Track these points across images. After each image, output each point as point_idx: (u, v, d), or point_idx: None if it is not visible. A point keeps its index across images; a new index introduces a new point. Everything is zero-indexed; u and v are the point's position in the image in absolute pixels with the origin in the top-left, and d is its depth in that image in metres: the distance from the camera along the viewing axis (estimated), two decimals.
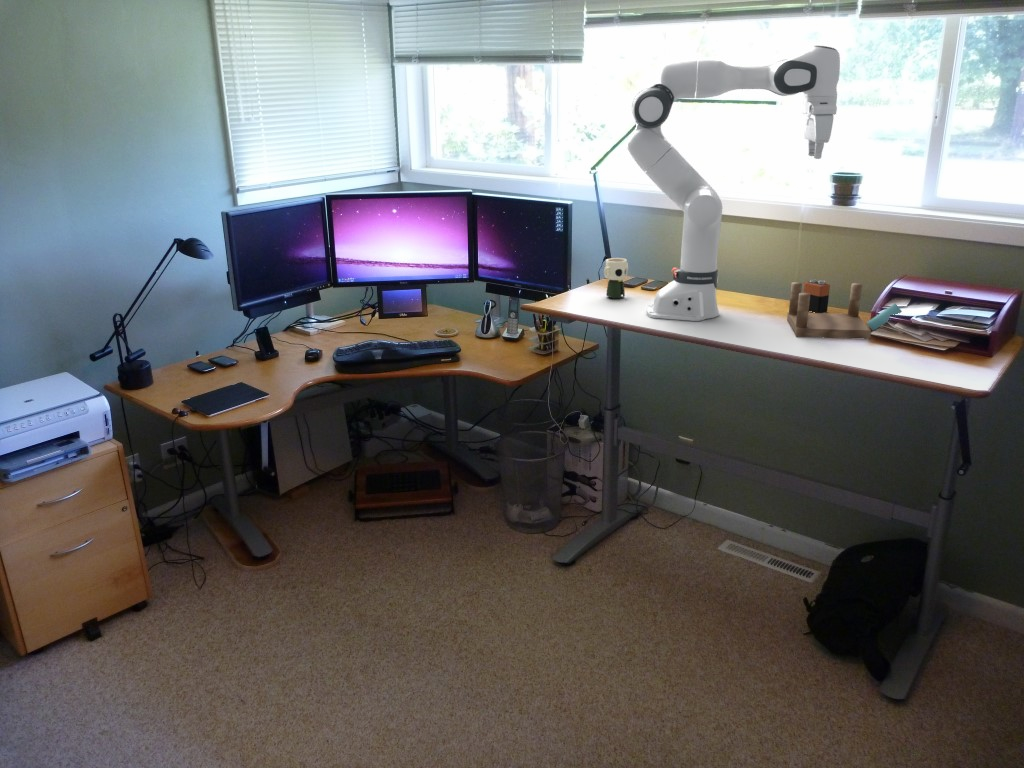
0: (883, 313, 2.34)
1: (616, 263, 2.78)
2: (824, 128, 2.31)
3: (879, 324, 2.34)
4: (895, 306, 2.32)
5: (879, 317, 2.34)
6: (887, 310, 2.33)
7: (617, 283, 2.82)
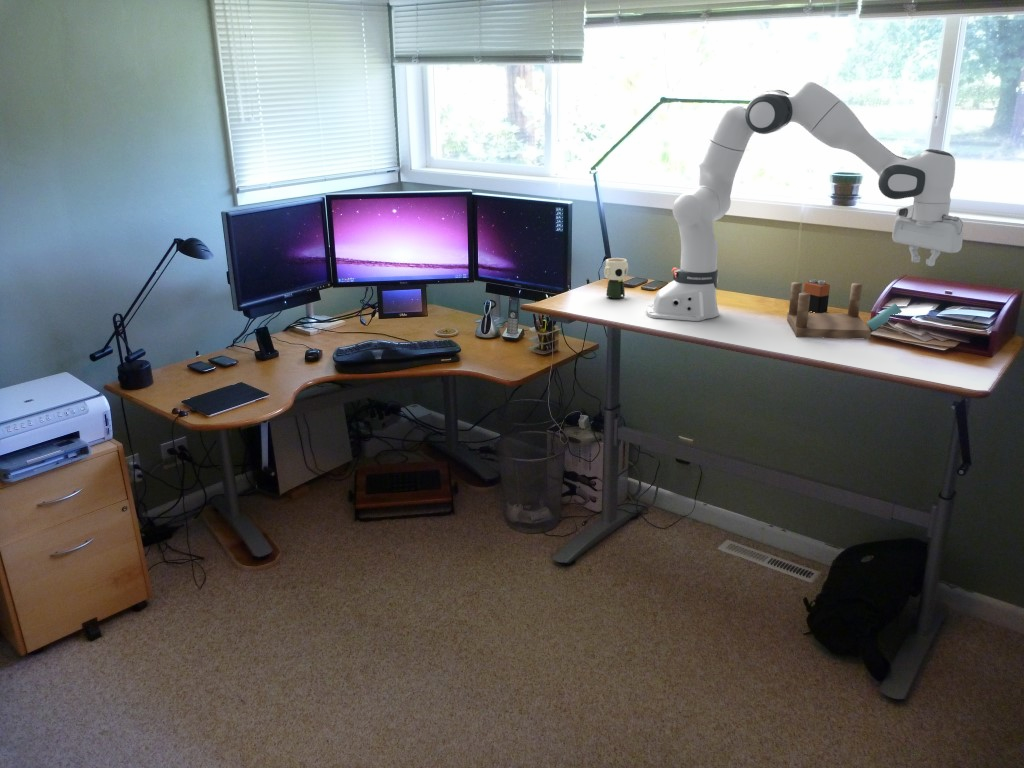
0: (883, 313, 2.34)
1: (616, 263, 2.78)
2: None
3: (879, 324, 2.34)
4: (895, 306, 2.32)
5: (879, 317, 2.34)
6: (887, 310, 2.33)
7: (617, 283, 2.82)
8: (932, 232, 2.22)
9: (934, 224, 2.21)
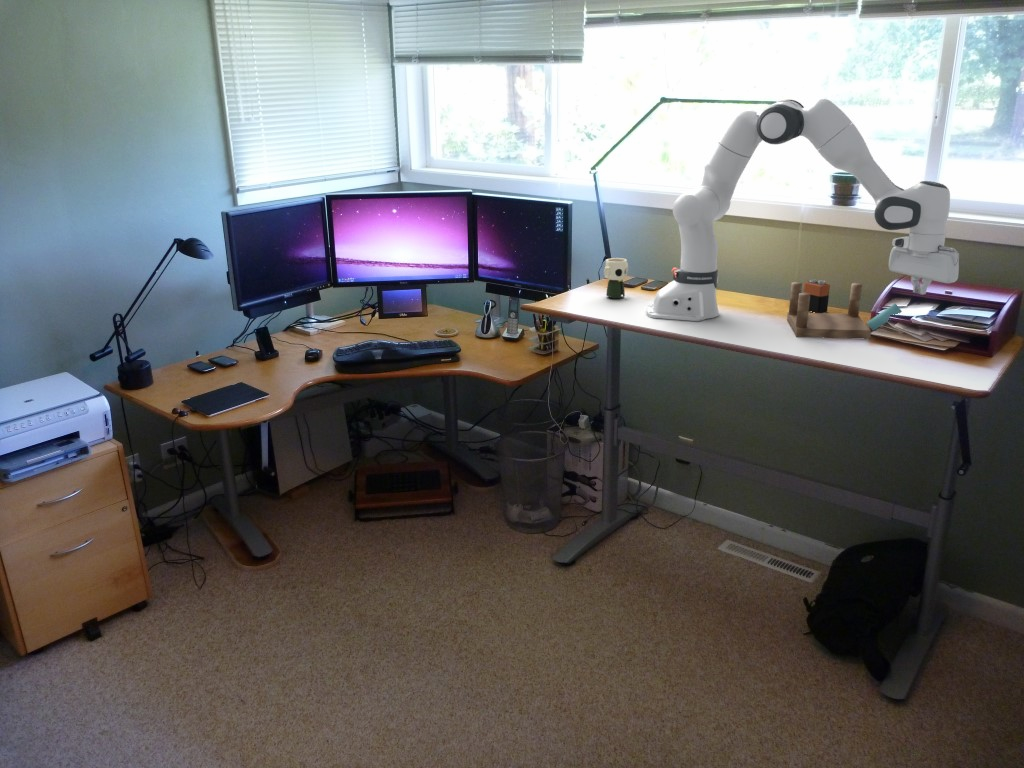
0: (883, 313, 2.34)
1: (616, 263, 2.78)
2: None
3: (879, 324, 2.34)
4: (895, 306, 2.32)
5: (879, 317, 2.34)
6: (887, 310, 2.33)
7: (617, 283, 2.82)
8: (928, 262, 2.25)
9: (930, 255, 2.23)
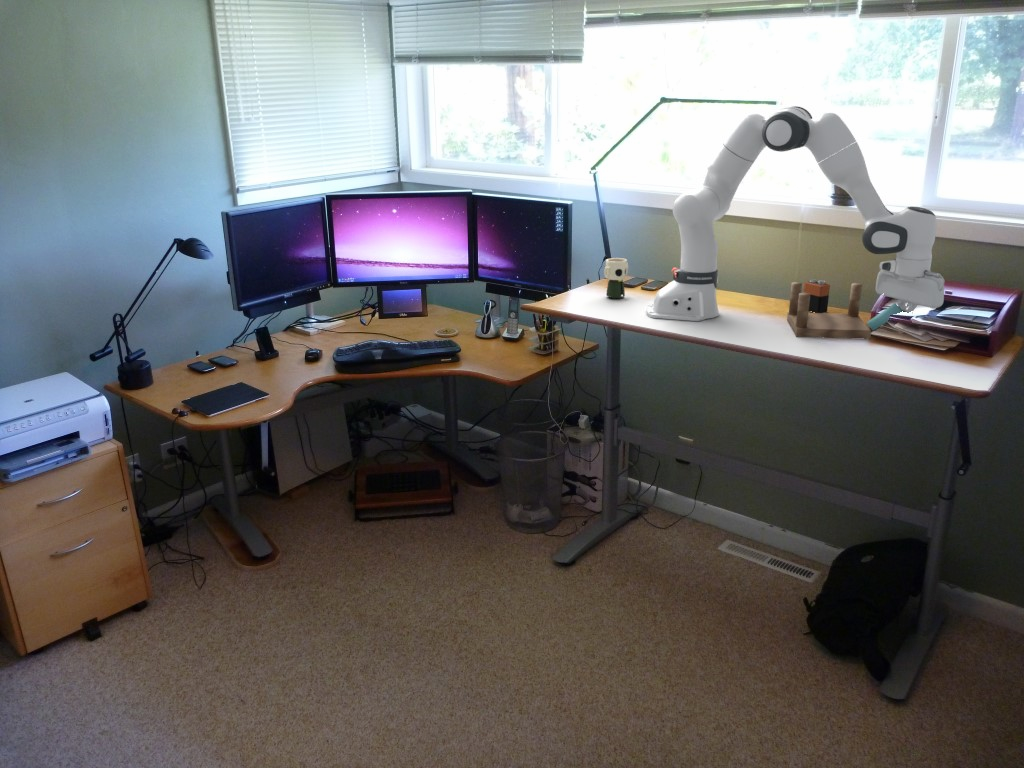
0: (883, 313, 2.34)
1: (616, 263, 2.78)
2: None
3: (879, 324, 2.34)
4: (895, 306, 2.32)
5: (879, 316, 2.34)
6: (887, 310, 2.33)
7: (617, 283, 2.82)
8: (914, 287, 2.28)
9: (916, 279, 2.26)
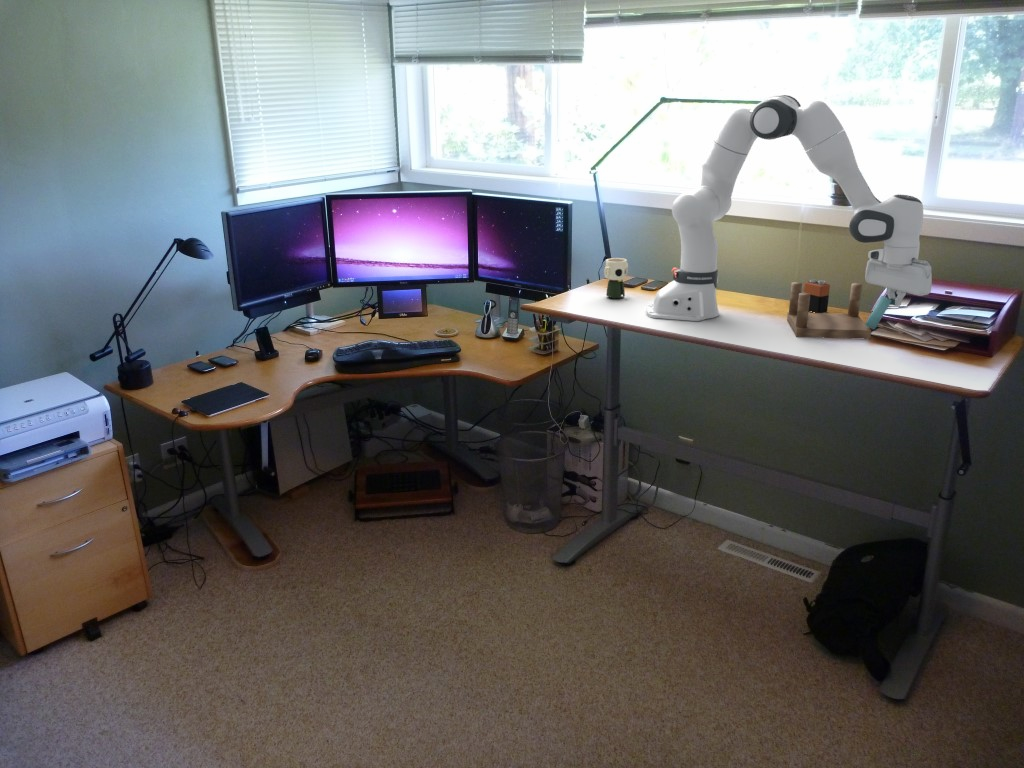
0: (875, 310, 2.34)
1: (616, 263, 2.78)
2: None
3: (877, 321, 2.34)
4: (882, 299, 2.32)
5: (873, 315, 2.34)
6: (877, 305, 2.33)
7: (617, 283, 2.82)
8: (902, 275, 2.27)
9: (904, 267, 2.26)
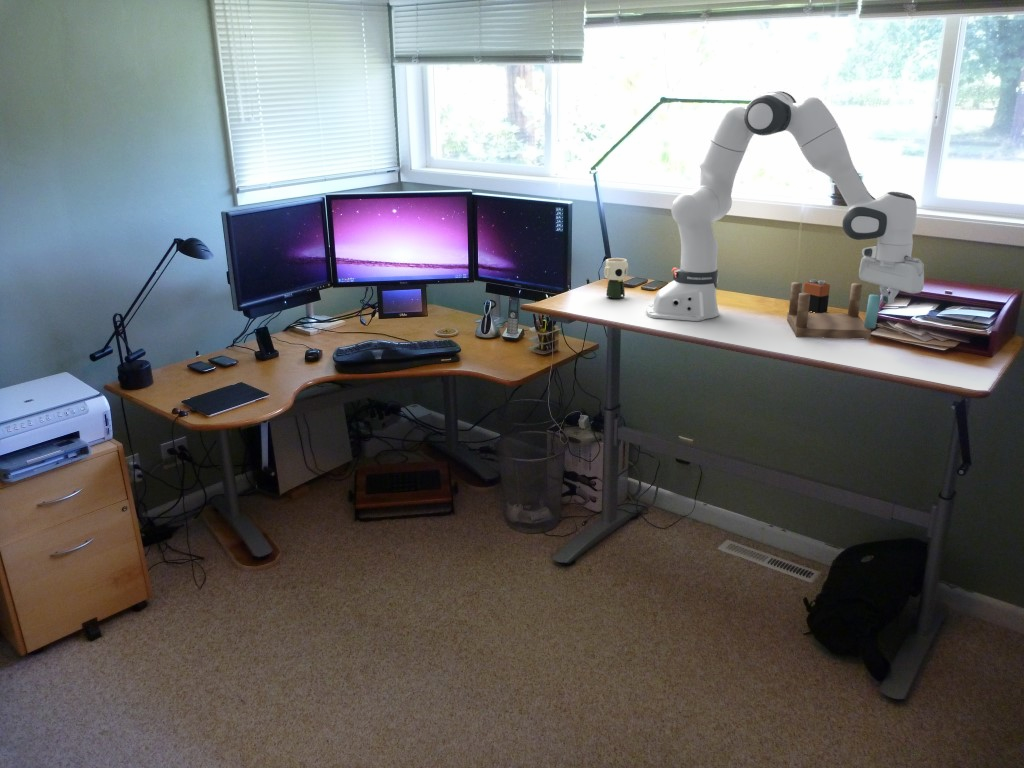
0: (868, 310, 2.34)
1: (616, 263, 2.78)
2: None
3: (874, 320, 2.34)
4: (871, 298, 2.32)
5: (868, 315, 2.34)
6: (868, 305, 2.34)
7: (617, 283, 2.82)
8: (895, 272, 2.27)
9: (897, 265, 2.26)
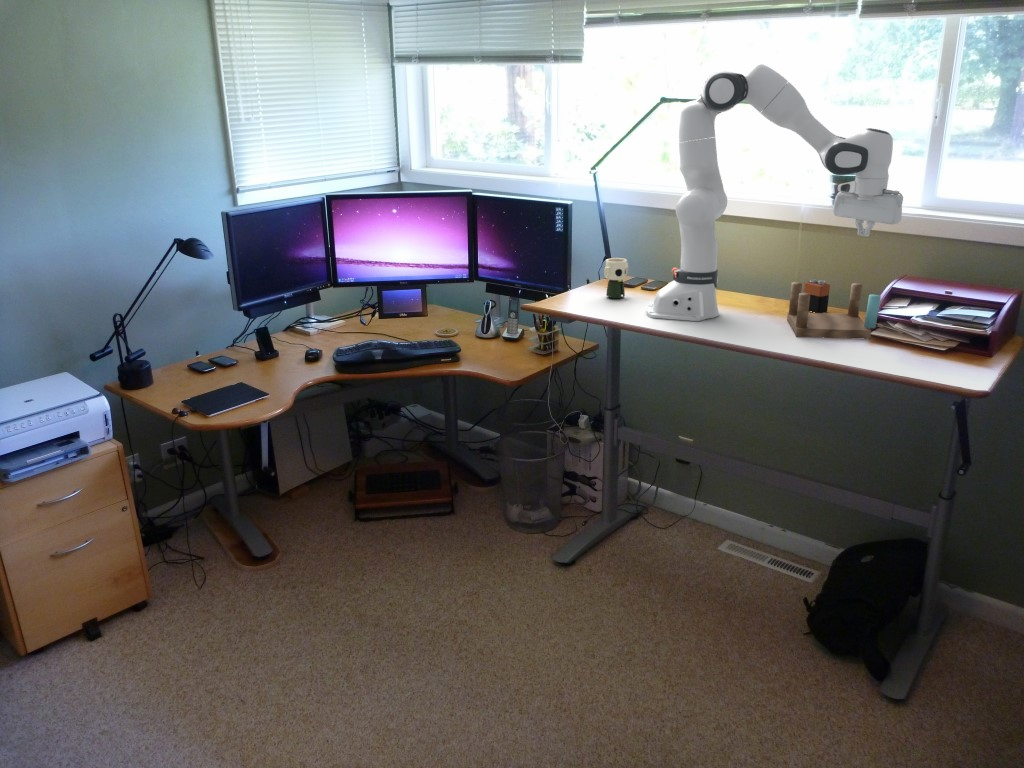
0: (868, 310, 2.34)
1: (616, 263, 2.78)
2: None
3: (874, 320, 2.34)
4: (871, 298, 2.32)
5: (868, 315, 2.34)
6: (868, 305, 2.34)
7: (617, 283, 2.82)
8: (873, 205, 2.39)
9: (875, 198, 2.38)
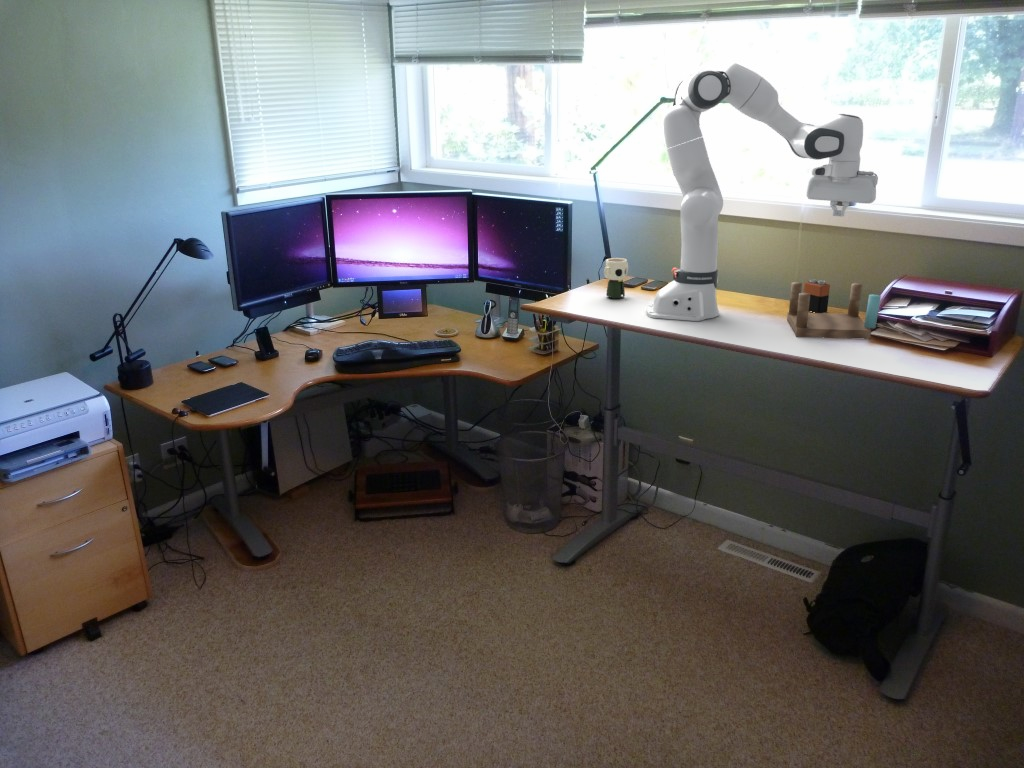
0: (868, 310, 2.34)
1: (616, 263, 2.78)
2: None
3: (874, 320, 2.34)
4: (871, 298, 2.32)
5: (868, 315, 2.34)
6: (868, 305, 2.34)
7: (617, 283, 2.82)
8: (849, 187, 2.53)
9: (851, 179, 2.52)
